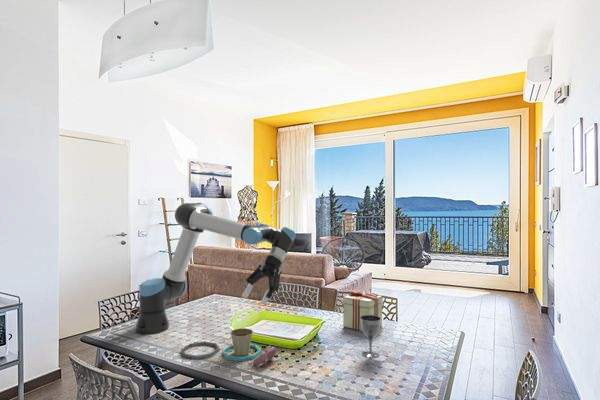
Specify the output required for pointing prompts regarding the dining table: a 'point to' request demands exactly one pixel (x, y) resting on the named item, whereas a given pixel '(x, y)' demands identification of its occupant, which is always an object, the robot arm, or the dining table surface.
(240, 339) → the flower pot
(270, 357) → the pink toy animal
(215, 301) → the dining table surface
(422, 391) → the dining table surface
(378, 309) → the gift box
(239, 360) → the collar
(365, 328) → the wine glass
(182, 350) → the collar
